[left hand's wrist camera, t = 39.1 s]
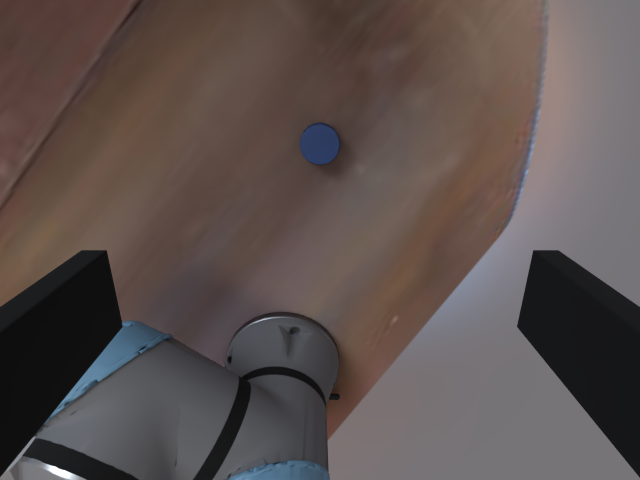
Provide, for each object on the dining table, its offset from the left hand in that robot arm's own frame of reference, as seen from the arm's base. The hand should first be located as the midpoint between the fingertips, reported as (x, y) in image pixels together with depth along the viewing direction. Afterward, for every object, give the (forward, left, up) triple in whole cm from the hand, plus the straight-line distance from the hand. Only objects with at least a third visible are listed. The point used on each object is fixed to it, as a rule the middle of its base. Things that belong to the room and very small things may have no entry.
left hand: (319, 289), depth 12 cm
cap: (0, 0, -32) cm, 32 cm away
